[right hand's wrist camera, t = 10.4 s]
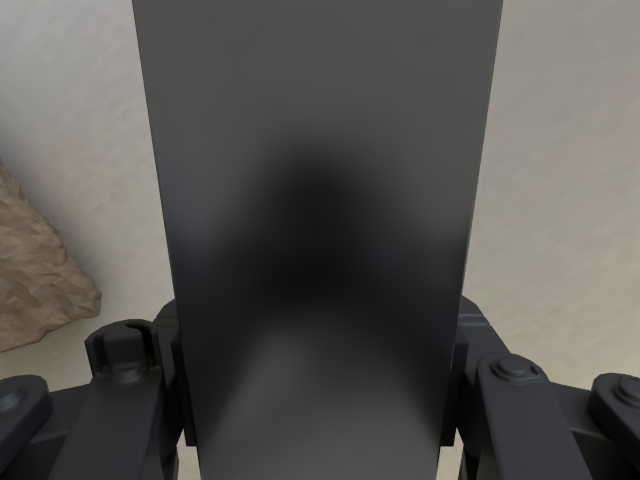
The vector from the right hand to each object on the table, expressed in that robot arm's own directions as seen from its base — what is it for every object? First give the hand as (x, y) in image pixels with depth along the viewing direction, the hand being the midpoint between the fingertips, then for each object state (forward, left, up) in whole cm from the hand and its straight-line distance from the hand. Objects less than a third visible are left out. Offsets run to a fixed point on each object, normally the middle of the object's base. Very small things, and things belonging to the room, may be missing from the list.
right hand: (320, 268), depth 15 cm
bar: (+4, +9, -1) cm, 10 cm away
